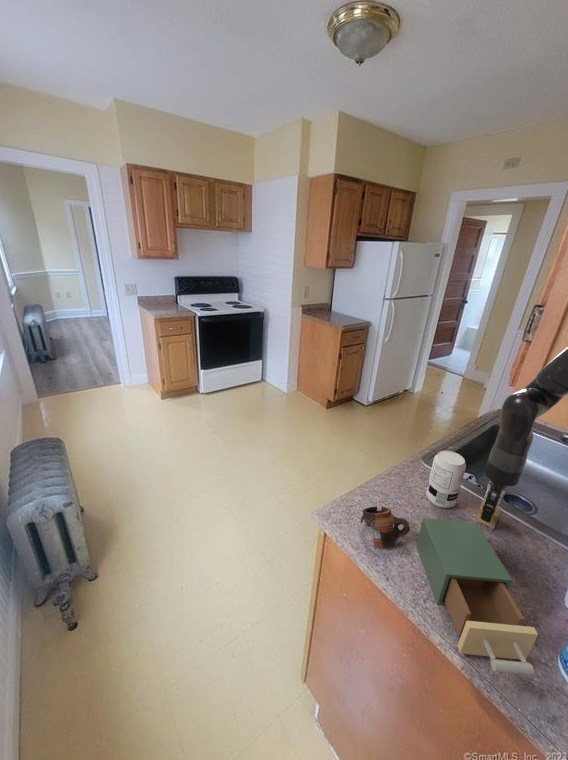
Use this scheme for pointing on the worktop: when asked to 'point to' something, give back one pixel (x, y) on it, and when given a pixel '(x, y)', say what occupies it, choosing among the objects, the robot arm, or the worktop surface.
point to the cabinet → (457, 555)
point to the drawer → (489, 623)
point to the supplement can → (445, 479)
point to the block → (493, 518)
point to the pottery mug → (385, 526)
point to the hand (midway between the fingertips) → (488, 511)
